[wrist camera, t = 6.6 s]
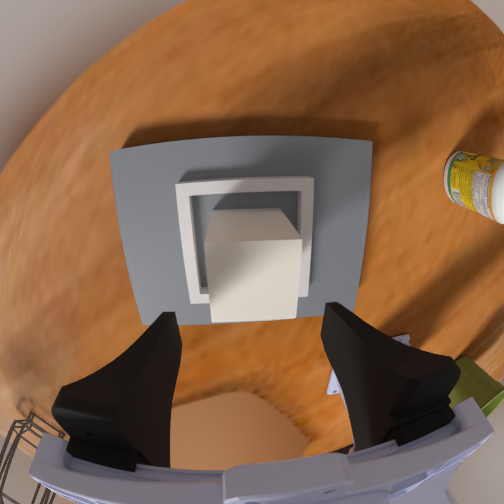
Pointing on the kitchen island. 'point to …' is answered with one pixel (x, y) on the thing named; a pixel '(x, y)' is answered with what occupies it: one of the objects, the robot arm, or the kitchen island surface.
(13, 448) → the geometric lantern
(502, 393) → the plant pot
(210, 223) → the cream block
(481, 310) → the kitchen island surface
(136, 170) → the display plinth
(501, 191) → the supplement bottle
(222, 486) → the robot arm
